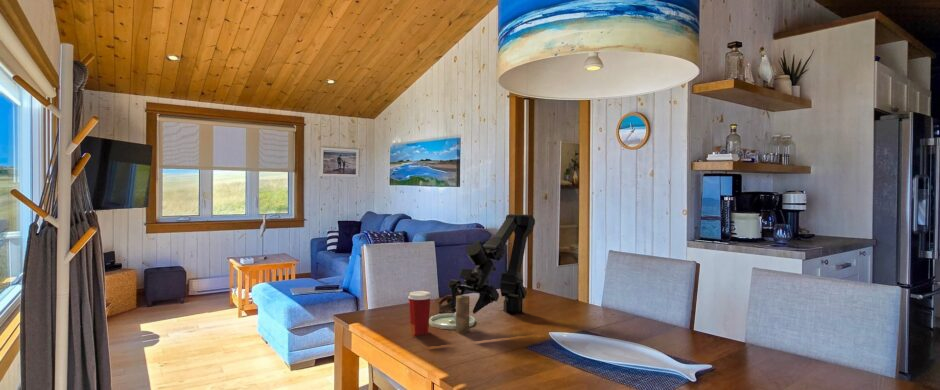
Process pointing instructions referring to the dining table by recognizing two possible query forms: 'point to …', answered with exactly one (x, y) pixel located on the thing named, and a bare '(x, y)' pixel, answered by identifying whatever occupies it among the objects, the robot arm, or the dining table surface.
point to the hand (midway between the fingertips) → (462, 310)
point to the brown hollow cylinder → (448, 306)
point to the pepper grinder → (462, 314)
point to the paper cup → (419, 312)
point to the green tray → (447, 321)
